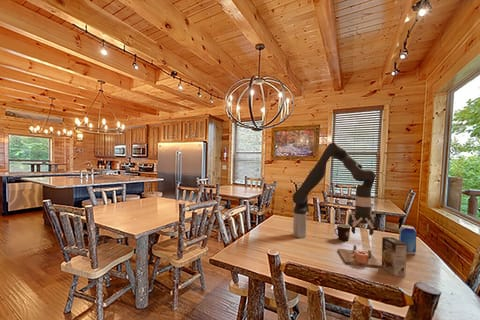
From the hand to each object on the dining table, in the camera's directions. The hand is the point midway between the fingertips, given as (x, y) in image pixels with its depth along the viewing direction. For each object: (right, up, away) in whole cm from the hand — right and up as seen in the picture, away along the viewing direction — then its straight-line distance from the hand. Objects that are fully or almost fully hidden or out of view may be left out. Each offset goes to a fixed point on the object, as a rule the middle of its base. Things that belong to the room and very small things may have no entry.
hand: (362, 234), depth 118 cm
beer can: (+38, -17, +17) cm, 45 cm away
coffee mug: (+5, -17, +36) cm, 40 cm away
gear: (0, -15, 0) cm, 15 cm away
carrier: (+1, -16, +6) cm, 17 cm away
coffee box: (+12, -17, -8) cm, 22 cm away
